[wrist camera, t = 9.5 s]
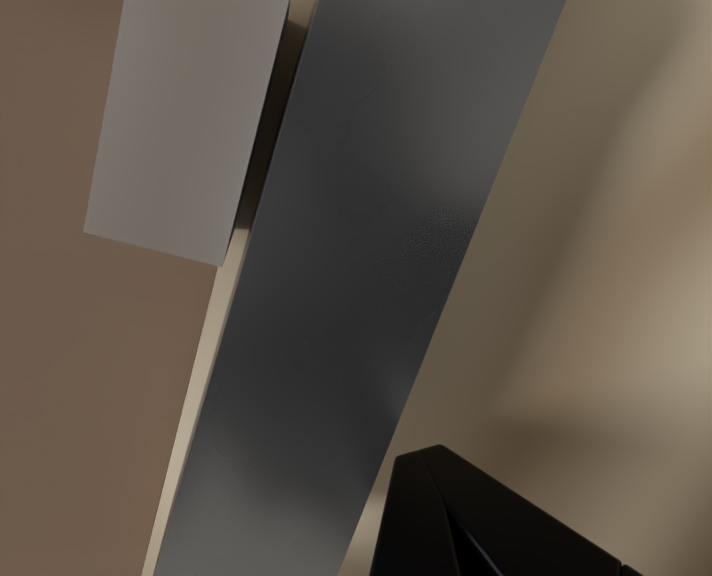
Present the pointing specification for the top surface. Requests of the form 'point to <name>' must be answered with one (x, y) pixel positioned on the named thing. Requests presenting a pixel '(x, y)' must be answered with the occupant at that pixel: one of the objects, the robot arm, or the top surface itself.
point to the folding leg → (347, 273)
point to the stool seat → (480, 257)
